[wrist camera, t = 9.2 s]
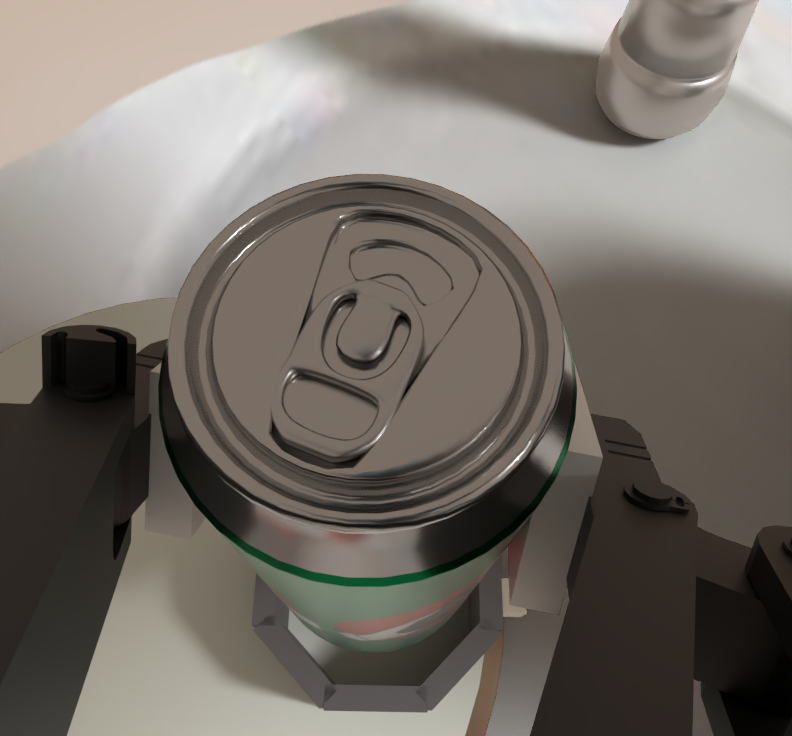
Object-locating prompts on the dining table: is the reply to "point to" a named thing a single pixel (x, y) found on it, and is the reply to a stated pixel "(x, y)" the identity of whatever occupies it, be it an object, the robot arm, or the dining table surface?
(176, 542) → the dial
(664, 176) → the dining table surface
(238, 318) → the soda can
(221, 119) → the dining table surface
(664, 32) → the plastic bottle
